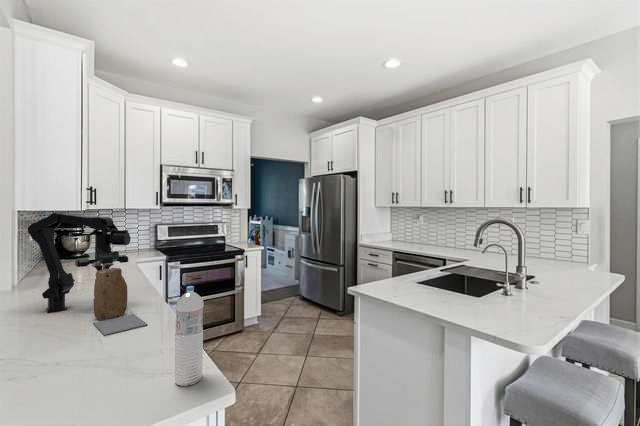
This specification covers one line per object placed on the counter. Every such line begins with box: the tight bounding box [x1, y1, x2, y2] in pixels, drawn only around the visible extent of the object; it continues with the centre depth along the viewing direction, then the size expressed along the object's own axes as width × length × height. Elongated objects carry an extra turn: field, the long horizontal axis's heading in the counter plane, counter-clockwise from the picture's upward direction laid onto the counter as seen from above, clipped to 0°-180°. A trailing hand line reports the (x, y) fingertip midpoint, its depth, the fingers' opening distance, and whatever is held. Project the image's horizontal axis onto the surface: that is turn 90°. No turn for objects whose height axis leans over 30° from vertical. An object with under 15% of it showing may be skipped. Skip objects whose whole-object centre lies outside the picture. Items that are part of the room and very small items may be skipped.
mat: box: [92, 313, 148, 337], centre depth 117 cm, size 16×14×1 cm
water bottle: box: [174, 285, 205, 387], centre depth 81 cm, size 7×7×25 cm
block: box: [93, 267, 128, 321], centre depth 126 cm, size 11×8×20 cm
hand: (102, 279), depth 135 cm, fingers closed
